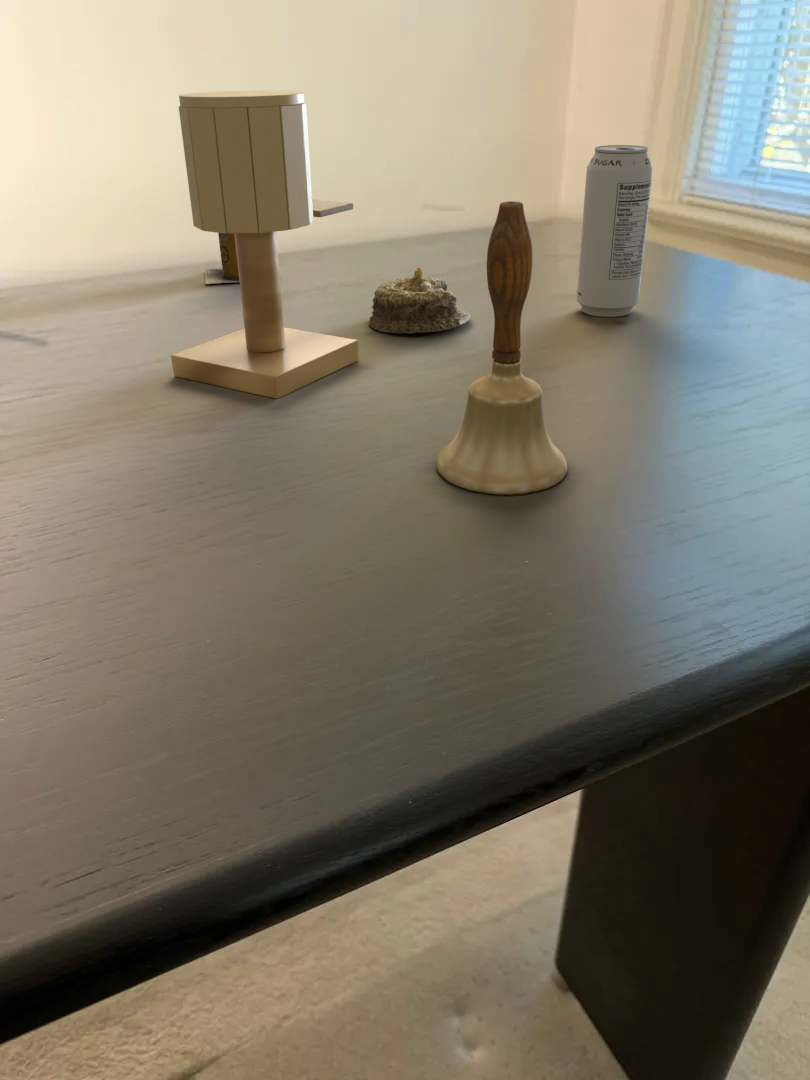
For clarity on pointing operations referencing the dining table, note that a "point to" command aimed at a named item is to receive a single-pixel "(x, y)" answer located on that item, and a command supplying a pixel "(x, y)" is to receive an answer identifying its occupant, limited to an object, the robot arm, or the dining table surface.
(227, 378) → the hat stand
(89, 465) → the dining table surface
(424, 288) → the cake
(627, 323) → the dining table surface
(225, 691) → the dining table surface
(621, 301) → the energy drink can
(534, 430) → the hand bell
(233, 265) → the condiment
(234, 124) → the slatted wooden barrel
